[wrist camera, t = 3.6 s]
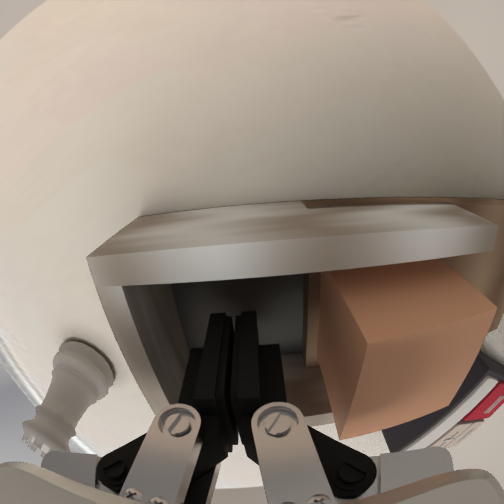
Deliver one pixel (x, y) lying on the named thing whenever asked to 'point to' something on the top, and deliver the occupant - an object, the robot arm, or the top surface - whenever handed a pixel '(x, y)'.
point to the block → (396, 341)
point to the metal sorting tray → (274, 276)
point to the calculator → (454, 411)
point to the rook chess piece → (68, 396)
